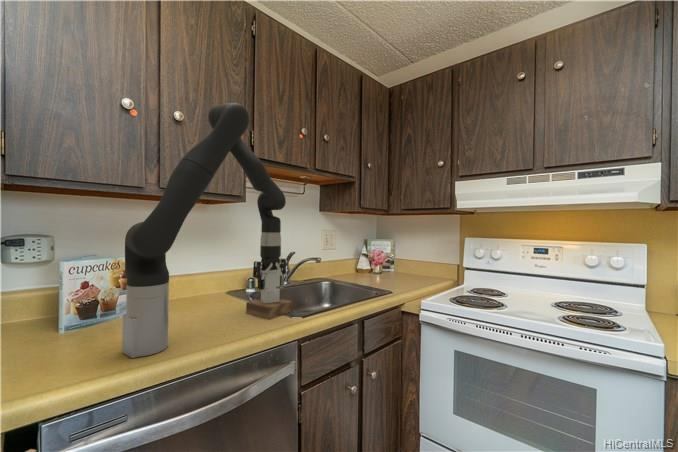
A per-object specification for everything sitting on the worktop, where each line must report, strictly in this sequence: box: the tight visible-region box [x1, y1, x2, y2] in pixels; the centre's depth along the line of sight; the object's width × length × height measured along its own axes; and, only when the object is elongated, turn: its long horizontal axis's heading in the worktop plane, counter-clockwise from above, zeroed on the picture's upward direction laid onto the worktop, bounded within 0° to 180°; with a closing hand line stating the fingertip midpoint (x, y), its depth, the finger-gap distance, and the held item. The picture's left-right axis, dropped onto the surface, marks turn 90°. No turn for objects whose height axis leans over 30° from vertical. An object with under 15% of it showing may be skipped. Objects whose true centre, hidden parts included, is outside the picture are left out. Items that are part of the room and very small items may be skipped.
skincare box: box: [260, 269, 281, 304], centre depth 109 cm, size 6×4×12 cm
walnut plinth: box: [245, 297, 294, 320], centre depth 109 cm, size 12×12×4 cm
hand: (270, 287), depth 109 cm, fingers open, 8 cm apart
